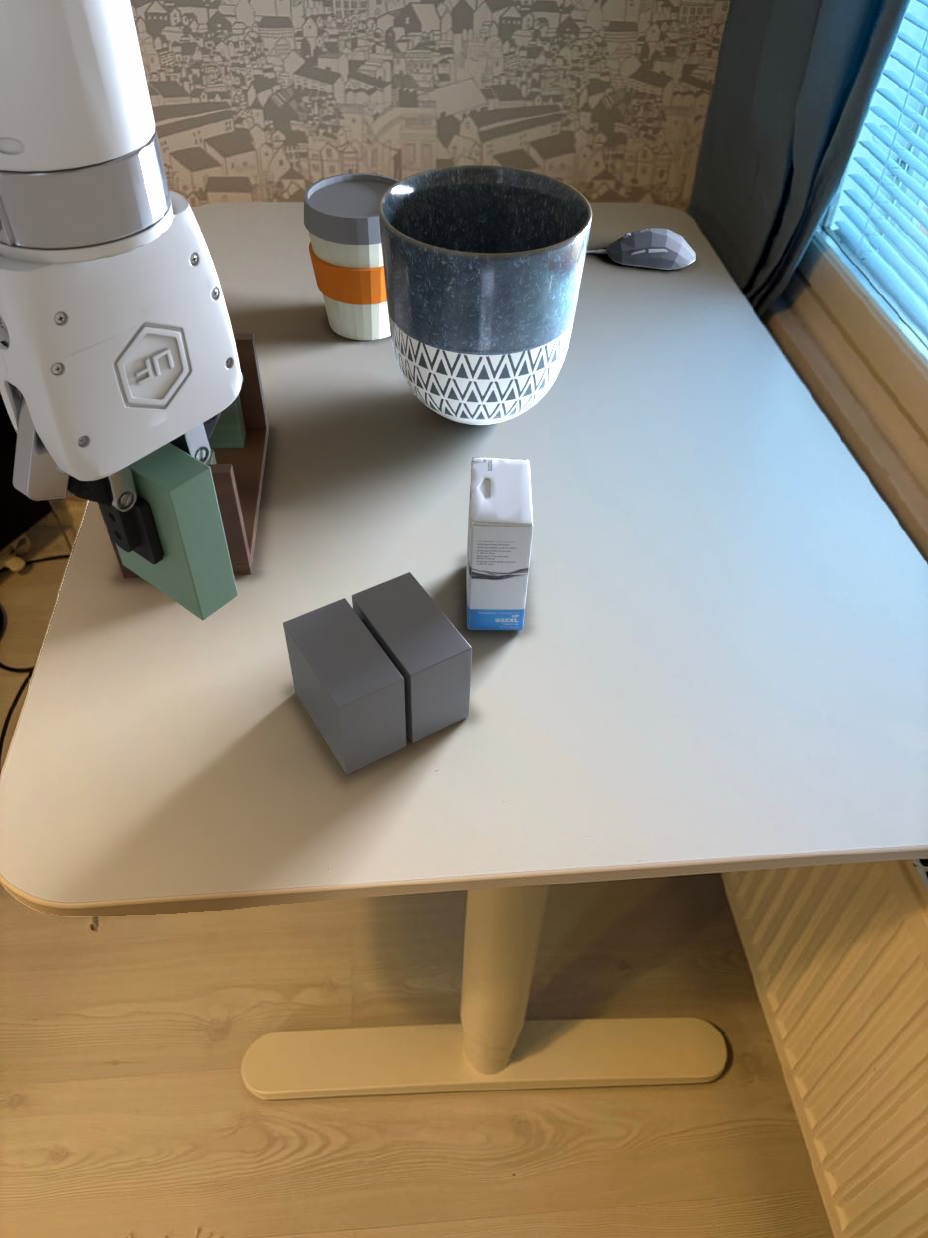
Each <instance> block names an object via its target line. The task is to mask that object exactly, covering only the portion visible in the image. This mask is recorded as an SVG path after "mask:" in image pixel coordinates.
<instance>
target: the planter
mask: <svg viewBox="0 0 928 1238" xmlns="http://www.w3.org/2000/svg"><path fill="white" fill-rule="evenodd" d="M399 180H400V181H398V182H396V183H395V184H393V185H392V186H391V187H389V188H388V189H387V190H386V191H385V192H384V194H383V195H382V197H381V199H380V201H379V205H378V212H379V226H380V239H381V248H382V257H383V266H384V277H385V289H386V299H387V308H388V317H389V327H390V341H391V346H392V350H393V354H394V357H395V361H396V364H397V366H398V369H399V372H400V374H401V376H402V378H403V380H404V382H405V384H406V385H407V387H408V388H409V389H410V391H411V392H412V394H413V395H414V396H415V397H416V398H417V399H418V400H419V401H420V402H421V403H422V404H423V405H425V406H426V407H427V408H429V410H431V411H433V412H434V413H436V414H437V415H439V416H441V417H442V418H445V419H448V420H450V421H453V422H456V423H459V424H463V425H464V424H465V425H469V426H488V425H496V424H500V423H503V422H507V421H509V420H512V419H514V418H517V417H519V416H521V415H522V414H524V413H526V412H527V411H528V410H530V409H531V408H532V407H534V406H536V405H537V404H538V403H539V402H540V401H541V400H542V399H543V398H544V397H545V396H546V395H547V393H548V392H549V390H550V389H551V388H552V386H553V385H554V383H555V382H556V380H557V377H558V375H559V374H560V371H561V369H562V367H563V364H564V362H565V359H566V356H567V353H568V349H569V345H570V342H571V338H572V337H571V336H572V331H573V327H574V325H573V324H574V321H575V316H576V310H577V306H578V301H579V295H580V294H579V293H580V290H581V289H580V287H581V284H582V283H581V282H582V277H583V272H584V268H585V267H584V265H585V260H586V256H587V253H586V251H587V250H588V245H589V239H590V233H591V227H592V220H593V211H592V210H593V209H592V207H591V204H590V202H589V200H588V199H587V198H586V197H585V196H584V195H583V194H582V193H581V192H580V191H579V190H578V189H576V188H575V187H573V186H571V185H570V184H568V183H566V182H564V181H562V180H560V179H557V178H555V177H552V176H549V175H547V174H543V173H540V172H537V171H533V170H528V169H523V168H518V167H511V166H504V165H493V164H492V165H490V164H464V165H452V166H444V167H437V168H431V169H428V170H424V171H421V172H417V173H414V174H411V175H408V176H406V177H404V178H402V179H399Z"/></svg>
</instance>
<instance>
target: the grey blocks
mask: <svg viewBox="0 0 928 1238" xmlns="http://www.w3.org/2000/svg"><path fill="white" fill-rule="evenodd" d="M351 604H352V605H351ZM351 604H350V603H349V601H348V600H347V599H346V598H345V597H344V598H341V599H339V600H336V601H333V602H331V603H329V604H326V605H324V606H321V607H318V608H316V609H314V610H311V611H308V612H306V613H303V614H300V615H299V616H296V617H293V618H290V619H288V620H287V621H283V622H282V626H283V632H284V637H285V643H286V649H287V653H288V659H289V665H290V670H291V677H292V682H293V688H294V693H295V694H296V696H297V697H298V699H299V700H300V702H301V704H302V706H303V707H304V709H305V710H306V712H307V714H308V715H309V717H310V718H311V720H312V722H313V723H314V725H315V727H316V728H317V730H318V731H319V733H320V734H321V736H322V738H323V739H324V741H325V743H326V744H327V746H328V748H329V749H330V751H331V753H332V754H333V755H334V757H335V759H336V761H337V762H338V764H339V766H340V767H341V769H342V770H343V771H344V774H345V775H346V776H348V775H350V774H352V773H355V772H356V771H359V770H360V769H363V768H365V767H367V766H369V765H371V764H373V763H375V762H377V761H380V760H381V759H384V758H386V757H387V756H390V755H392V754H394V753H396V752H398V751H400V750H402V749H404V748H406V747H407V737H408V739H409V740H410V742H411V743H412V744H414V743H416V742H418V741H421V740H423V739H425V738H427V737H429V736H432V735H433V734H435V733H438V732H439V731H442V730H443V729H445V728H448V727H449V726H452V725H454V724H456V723H458V722H460V721H462V720H464V719H466V718H468V717H469V716H470V704H471V703H470V702H471V701H470V700H471V681H472V680H471V679H472V661H473V660H472V659H473V658H472V657H473V647H472V646H471V645H470V643H468V641H467V640H466V639H465V637H464V636H463V635H462V634H461V633H460V632H459V630H458V629H457V627H456V626H455V625H454V623H452V621H451V620H450V619H449V618H448V617H447V615H446V614H445V613H444V611H442V609H441V608H440V607H439V606H438V604H437V603H436V602H435V600H434V599H433V598H432V597H431V596H430V594H429V593H428V592H427V591H426V590H425V588H424V587H423V586H422V585H421V584H420V582H419V580H417V579H416V577H415V576H414V575H413V573H411V571H408V572H405V573H403V574H401V575H399V576H395V577H393V578H391V579H389V580H386V581H384V582H381V583H378V584H376V585H373V586H371V587H368V588H366V589H363V590H361V591H359V592H356V593H354V594H351Z"/></svg>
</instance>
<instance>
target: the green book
mask: <svg viewBox="0 0 928 1238" xmlns="http://www.w3.org/2000/svg"><path fill="white" fill-rule="evenodd" d="M130 466H131V471H132V475H133V480H134V484H135V489H136V493H137V495H138V496H140V497H142V498H143V499H145V500H146V501H147V502H148V503H149V505H150V507H151V510H152V514H153V517H154V521H155V524H156V528H157V531H158V534H159V538H160V541H161V545H162V548H163V552H164V556H163V560H161V561H160V562H158V563H157V564H155V565H154V564H152V563H150V562H149V561H147V560H146V559H144V558H143V557H142V556H140V555H139V554H137V553H136V552H134V551H131V552H126V551H124V550H123V549H121V548H120V547H119V546H118V545H117V544H116V546H117V549H118V552H119V555H120V558H121V561H122V564H123V565H124V566H125V567H127V568H128V569H130V570H131V571H133V572H134V573H135V574H137V575H138V576H140V577H141V578H140V579H143V580H144V581H145V582H147V583H148V584H150V585H151V586H152V587H154V589H157V590H159V591H160V592H161V593H162V594H164V595H165V596H167V597H168V598H170V599H171V600H173V601H174V602H175V603H177V604H178V605H180V606H181V607H182V608H184V609H185V610H187V611H188V612H190V613H191V614H192V615H194V616H195V617H197V618H198V619H200V620H201V621H205V620H206V619H208V618H209V617H210V616H212V615H213V614H215V613H216V612H217V611H218V610H220V609H222V608H223V607H224V606H226V605H227V604H228V603H230V602H231V601H232V600H234V599H235V598H236V597H238V596H239V593H238V589H237V585H236V578H235V575H234V574H233V570H232V565H231V560H230V556H229V551H228V547H227V542H226V537H225V533H224V528H223V524H222V519H221V515H220V510H219V505H218V501H217V496H216V492H215V487H214V482H213V478H212V473H211V469H210V467H209V466H208V465H206V464H204V463H203V462H201V461H199V460H197V459H196V458H194V457H192V456H191V455H189V454H187V453H186V452H184V451H182V450H181V449H179V448H177V447H176V446H174V445H172V444H171V443H167V444H166V445H164V446H162V447H160V448H159V449H157V450H155V451H153V452H152V453H150V454H148V455H146V456H145V457H143V458H141V459H139V460H138V461H136V462H134V463H132V464H130Z"/></svg>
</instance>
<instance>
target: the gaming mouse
mask: <svg viewBox="0 0 928 1238" xmlns="http://www.w3.org/2000/svg"><path fill="white" fill-rule="evenodd" d="M586 254H597V255H607V256H608V257H609V258H610V259H611V260H612V261H613V263H614V262H615V263H617V264H620V265H623V266H633V267H639V268H648V269H656V270H665V271H666V270H667V271H670V270H679V269H683V268H686V267H688V266H689V265H692V264H693V263H694V262H695V261H696V259H697V257H696V256H697V255H696V254H697V253H696V252H695V250H694V249H693V248H692V247H691V246H690V244H688V242H687V241H686V240H685V238H684V237H683V236H682V235H681V234H679V233H677V232H675V231H672V230H670V229H668V228H657V227H650V228H646V229H641V230H635V231H631V232H626V233H624V234H623V236H621V237H619V238H618V239H616V240H614V241H613V242H610V243H609V244H608V245H607V246H606V249H603V248H599V249H596V250H595V249H594V250H592V249H591V250H588V249H587V251H586Z"/></svg>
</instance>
